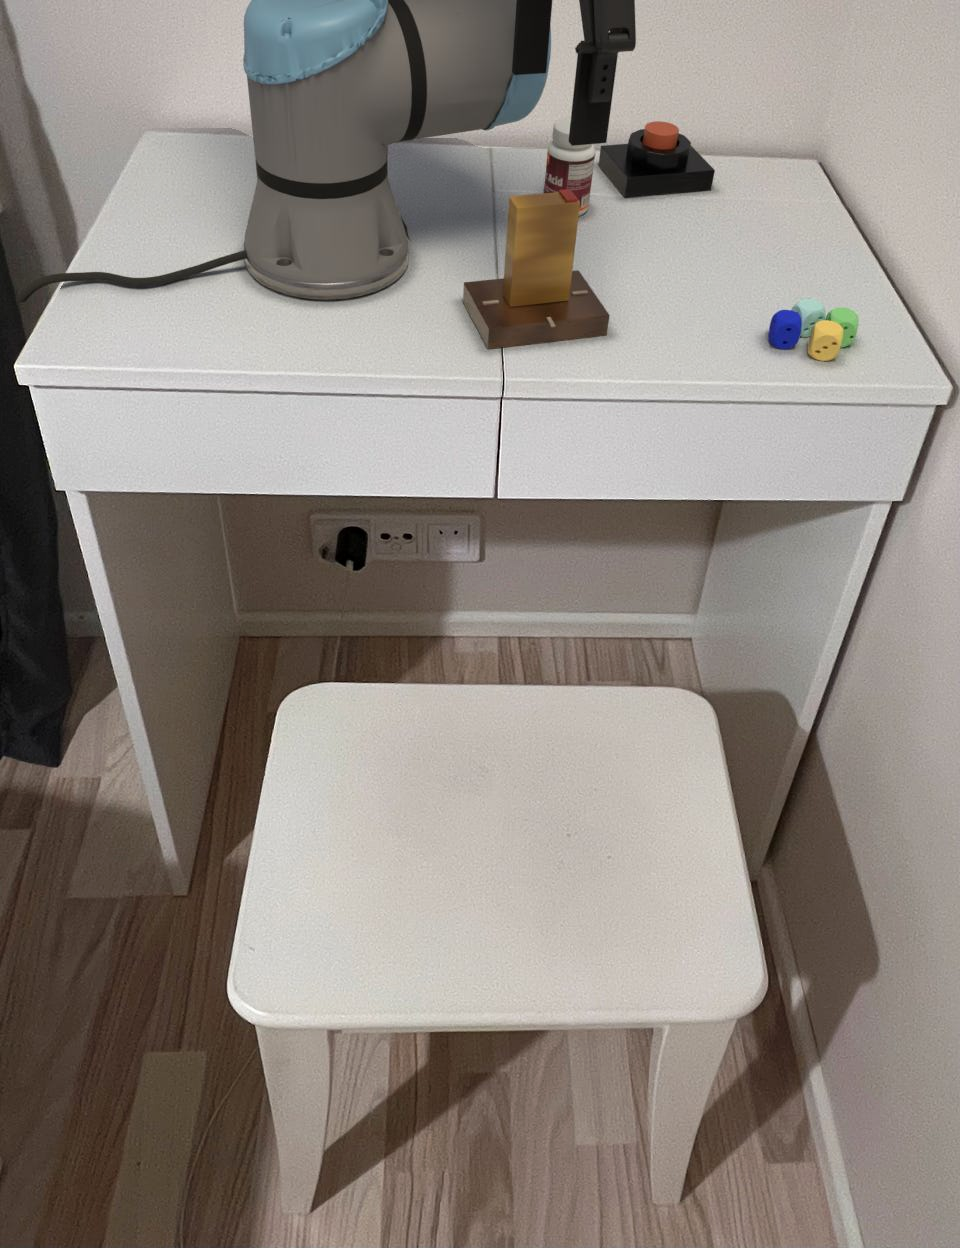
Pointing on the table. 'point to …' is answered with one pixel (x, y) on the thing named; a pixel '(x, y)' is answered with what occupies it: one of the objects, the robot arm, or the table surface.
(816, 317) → the dice
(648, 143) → the bell button
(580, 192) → the pill bottle
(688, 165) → the button box
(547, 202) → the thumb turn
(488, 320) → the lock plate
